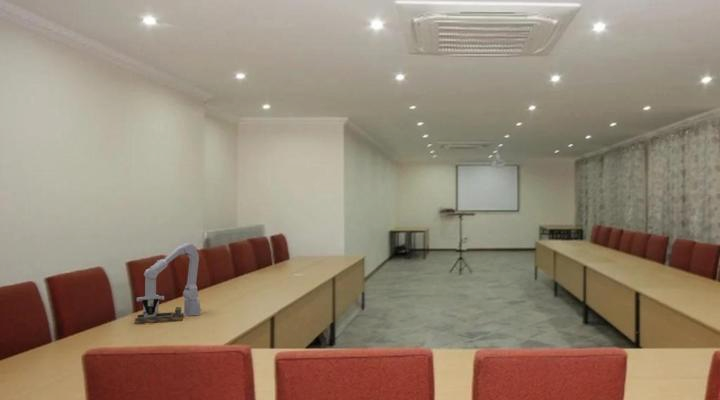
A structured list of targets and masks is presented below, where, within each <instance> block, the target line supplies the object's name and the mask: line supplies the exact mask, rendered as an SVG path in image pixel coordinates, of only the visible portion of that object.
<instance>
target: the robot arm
mask: <svg viewBox="0 0 720 400" xmlns="http://www.w3.org/2000/svg"><path fill="white" fill-rule="evenodd" d="M197 250H198V249H197V247H196V246H195V245H194V244H193V243H187V242H182V243H181V244H180V245H179V246H177V247H176V248H175V249H173V250H172V251H171V252H170V253H169V254H168V255H166V257H164V258H163V259H158V260H156V262H155V263H154V264H153V265H150V267H149V268H147V269H145V271H144V273H143V276H144V278H145V281H144V285H145V287H144V289H145V290H144V296H140V297H136V302H142V304H143V305H144V307H145V309H146V313H148V300H154V301H153V313H155V308H156V305H157V303H158V300H159V301H160V300H163V301H164V300H165V295H159V296H156V295H157V278H158V275H159V274H160V273H161V272H162V271H163V270H165V269H166V268H167V267H168V265H169V263H170V262H172V261H173V260H175V259H176V258H177V257H178V256H179V255H180V256H181V255H186V256H187V257H188V259H189V262H188V273H187V281H186V285H185V286H184V287H185V288H184V290H183V292H182V296H183V297H184V299H183V301H184V302H183V304H184V305H183V307H184V309H183V310H184V311H183V317H186V316H187V317H189V316H199V315H201V299H197V298H198V297H199V292H198V286H197V278H198V270H199V262H200V255H199V254H200V253H199V252H198V251H197Z"/></svg>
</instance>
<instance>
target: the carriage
mask: <svg viewBox="0 0 720 400" xmlns="http://www.w3.org/2000/svg"><path fill="white" fill-rule="evenodd" d="M146 317H158V313H157V312H155V313H153V306H148V313H145V315H144V318H146Z"/></svg>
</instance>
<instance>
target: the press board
mask: <svg viewBox="0 0 720 400" xmlns="http://www.w3.org/2000/svg"><path fill="white" fill-rule="evenodd" d="M183 314H184V312H183V313H182V307H181V306H178V307H177V306H176V307H175V310H174V311H170V312H159V313H158V317H146V318H144V315H145V314H143V313H141V314H137V315H136V316H137V317H135V319H134V325H135V324H136V325H145V323H149V324H158V323H159V324H161V323H171V322H173V323H174V322H182V321H183V319H184V316H183Z"/></svg>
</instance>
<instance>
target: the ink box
mask: <svg viewBox="0 0 720 400" xmlns="http://www.w3.org/2000/svg"><path fill="white" fill-rule="evenodd" d="M156 296H160V294H156ZM153 301H154V300H148V306H153ZM159 304H160V300H158V303H157V305H156V308H155V312H157V313H160V312H159V309H160V306H159ZM142 310H143V311H142V314H145V313H146V309H145V307H144V305H143V309H142Z"/></svg>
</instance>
